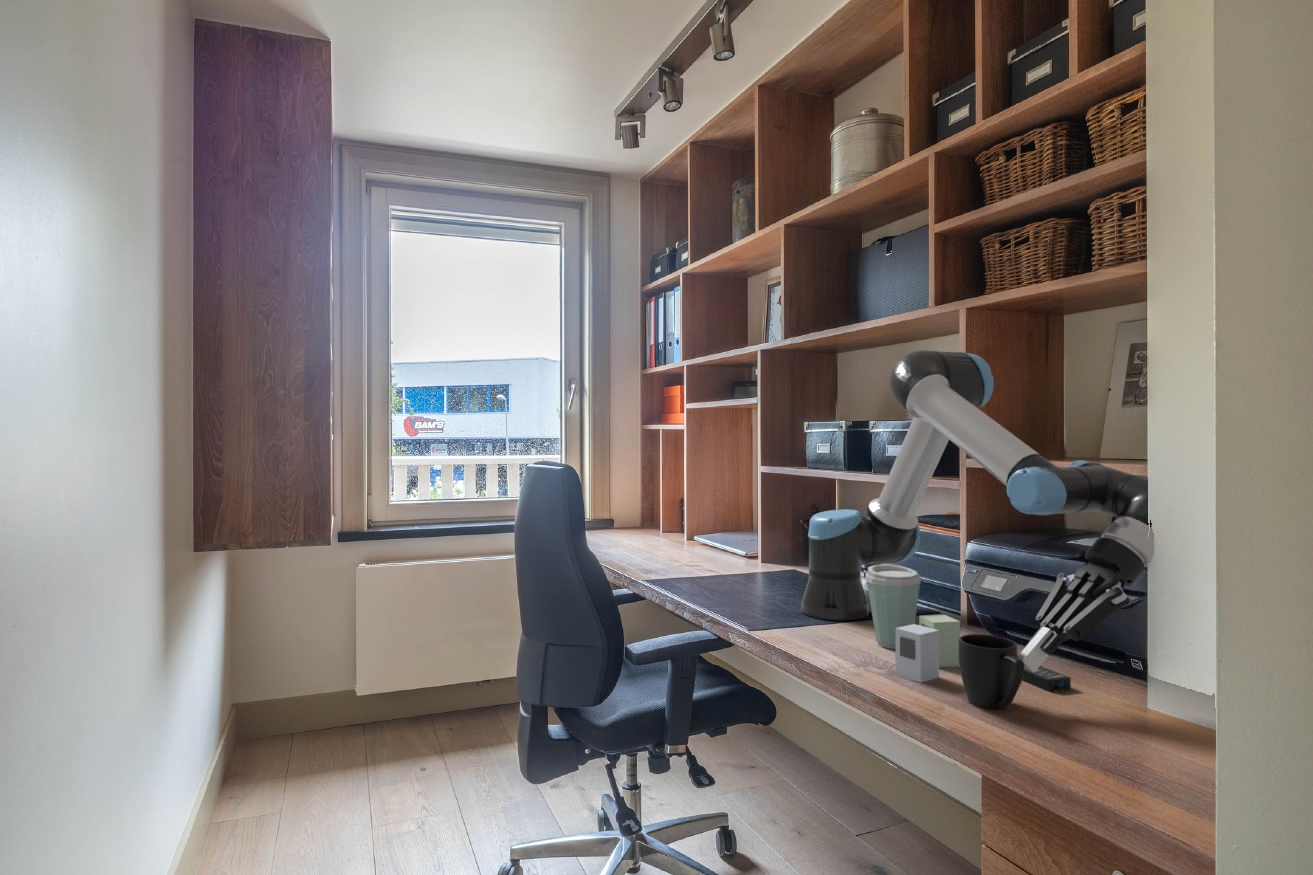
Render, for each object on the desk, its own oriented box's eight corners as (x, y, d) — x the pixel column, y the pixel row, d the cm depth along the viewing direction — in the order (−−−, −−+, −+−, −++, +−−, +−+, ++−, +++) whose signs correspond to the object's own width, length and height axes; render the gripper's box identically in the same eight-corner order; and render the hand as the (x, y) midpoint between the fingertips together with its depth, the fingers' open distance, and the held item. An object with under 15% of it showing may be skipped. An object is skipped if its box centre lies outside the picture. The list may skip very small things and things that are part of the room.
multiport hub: (1020, 670, 129) (1020, 657, 129) (1072, 691, 118) (1072, 677, 118) (999, 673, 127) (999, 659, 127) (1050, 694, 117) (1050, 680, 117)
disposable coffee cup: (934, 648, 141) (934, 570, 141) (892, 656, 136) (892, 575, 136) (893, 635, 150) (893, 562, 150) (852, 641, 145) (852, 566, 145)
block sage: (918, 659, 134) (918, 615, 134) (944, 657, 135) (944, 614, 135) (932, 667, 129) (932, 622, 129) (959, 666, 130) (959, 621, 130)
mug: (991, 724, 104) (991, 657, 104) (948, 694, 116) (948, 634, 116) (1045, 721, 105) (1045, 655, 105) (997, 692, 117) (997, 632, 117)
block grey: (894, 674, 125) (894, 628, 125) (914, 669, 128) (914, 623, 128) (919, 683, 121) (919, 634, 121) (939, 677, 124) (939, 630, 124)
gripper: (1076, 530, 120) (983, 636, 117) (1141, 541, 107) (1038, 661, 104) (1105, 561, 120) (1013, 668, 118) (1173, 576, 108) (1071, 696, 105)
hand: (1025, 665), depth 111 cm, fingers closed
